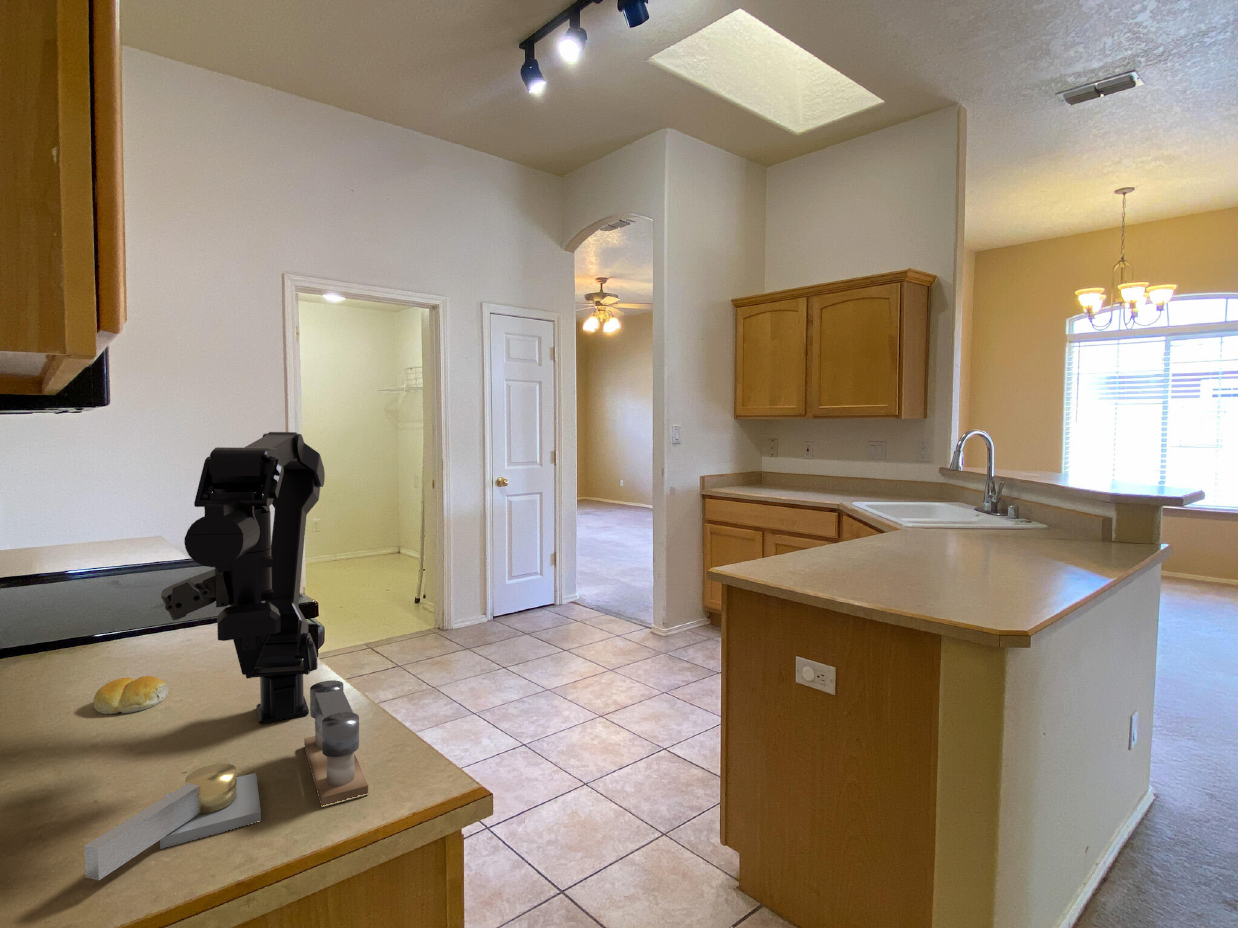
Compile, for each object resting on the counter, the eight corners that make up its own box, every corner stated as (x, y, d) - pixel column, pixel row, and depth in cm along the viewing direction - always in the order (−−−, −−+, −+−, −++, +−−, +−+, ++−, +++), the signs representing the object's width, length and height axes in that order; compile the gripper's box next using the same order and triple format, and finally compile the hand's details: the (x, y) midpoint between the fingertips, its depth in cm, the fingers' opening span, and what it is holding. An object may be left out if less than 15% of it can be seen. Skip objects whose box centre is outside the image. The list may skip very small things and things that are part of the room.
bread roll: (113, 694, 103) (113, 669, 103) (175, 692, 105) (175, 667, 104) (78, 718, 95) (77, 691, 95) (146, 715, 96) (145, 688, 96)
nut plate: (165, 804, 74) (165, 794, 74) (256, 782, 79) (255, 772, 79) (160, 849, 67) (159, 837, 67) (261, 821, 71) (260, 811, 71)
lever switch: (212, 785, 76) (211, 759, 76) (247, 792, 75) (246, 765, 74) (72, 874, 61) (70, 842, 61) (112, 884, 60) (111, 851, 59)
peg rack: (304, 746, 88) (303, 708, 87) (344, 737, 90) (344, 700, 90) (321, 807, 74) (321, 763, 74) (368, 795, 77) (367, 752, 76)
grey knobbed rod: (362, 751, 77) (361, 722, 76) (324, 760, 74) (324, 730, 74) (341, 703, 89) (340, 678, 89) (308, 709, 87) (308, 683, 87)
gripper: (169, 542, 84) (172, 660, 85) (160, 571, 69) (164, 717, 70) (267, 535, 90) (269, 646, 91) (280, 561, 74) (282, 695, 76)
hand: (247, 673), depth 82 cm, fingers closed
